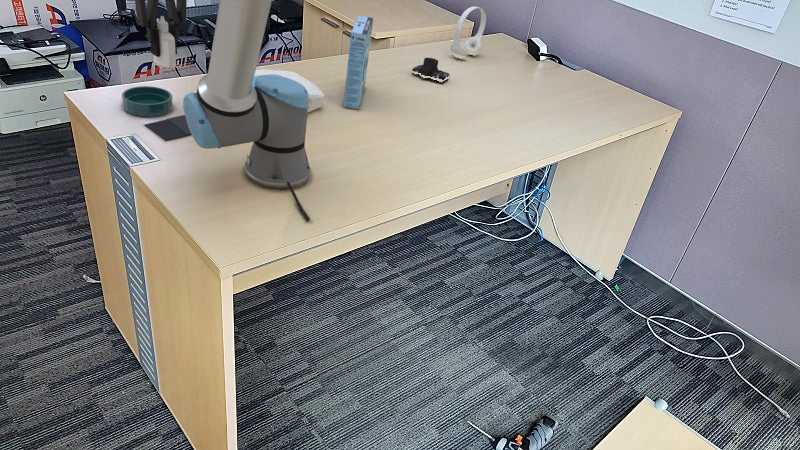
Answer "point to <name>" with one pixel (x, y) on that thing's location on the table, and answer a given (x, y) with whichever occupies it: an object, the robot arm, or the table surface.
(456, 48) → the headphones
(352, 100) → the blue cardboard box
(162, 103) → the bowl
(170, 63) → the eye dropper bottle
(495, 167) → the table surface
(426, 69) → the film camera
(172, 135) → the napkin
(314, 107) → the document scanner
